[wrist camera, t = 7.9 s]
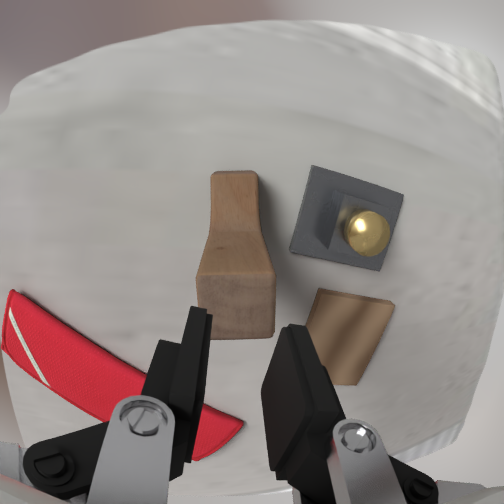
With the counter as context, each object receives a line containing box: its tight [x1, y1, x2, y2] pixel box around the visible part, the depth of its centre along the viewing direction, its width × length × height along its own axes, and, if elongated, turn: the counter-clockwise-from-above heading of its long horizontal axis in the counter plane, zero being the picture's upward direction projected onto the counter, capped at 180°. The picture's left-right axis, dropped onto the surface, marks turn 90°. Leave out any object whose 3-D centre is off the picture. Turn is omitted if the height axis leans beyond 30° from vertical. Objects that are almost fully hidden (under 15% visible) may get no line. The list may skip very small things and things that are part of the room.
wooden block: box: [196, 170, 276, 340], centre depth 25 cm, size 9×4×18 cm, turn 1°
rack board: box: [306, 288, 395, 385], centre depth 39 cm, size 11×14×2 cm
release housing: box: [289, 165, 404, 271], centre depth 33 cm, size 12×10×4 cm
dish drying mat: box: [1, 289, 243, 461], centre depth 40 cm, size 16×41×4 cm, turn 53°
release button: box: [344, 209, 390, 257], centre depth 29 cm, size 4×4×2 cm
